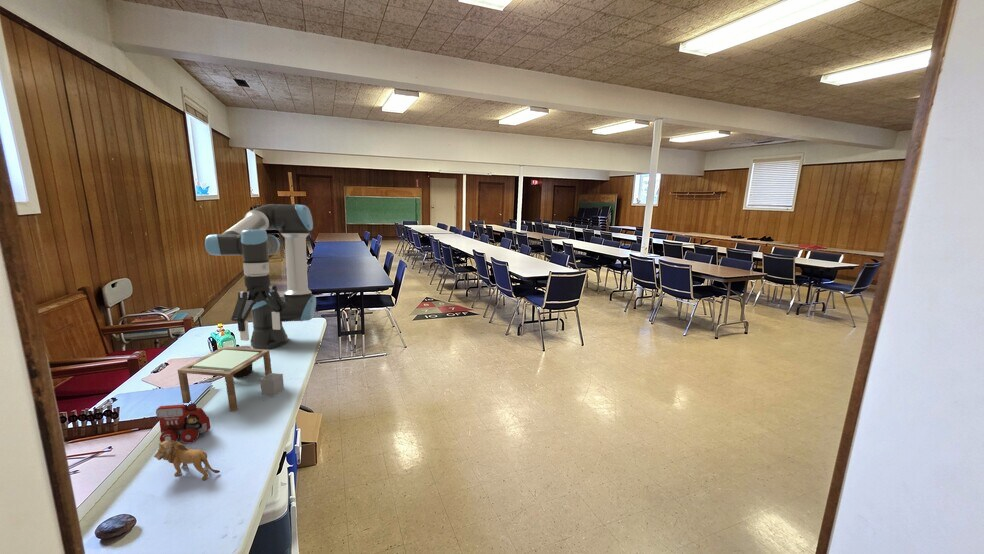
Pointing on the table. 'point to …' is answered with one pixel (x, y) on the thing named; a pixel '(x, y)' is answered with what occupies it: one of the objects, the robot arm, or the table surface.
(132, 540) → the table surface
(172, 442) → the lion figurine
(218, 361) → the hatch
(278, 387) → the cube
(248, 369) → the coffee mug
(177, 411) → the toy fire truck
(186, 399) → the frame
